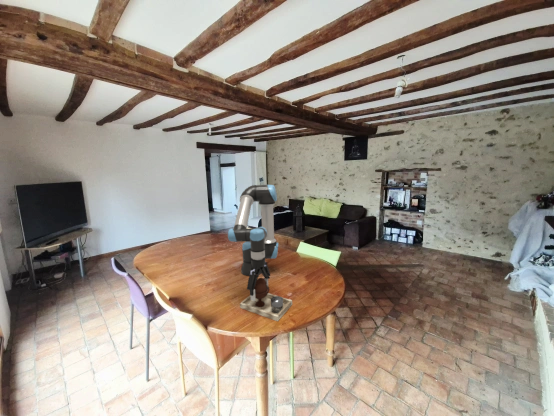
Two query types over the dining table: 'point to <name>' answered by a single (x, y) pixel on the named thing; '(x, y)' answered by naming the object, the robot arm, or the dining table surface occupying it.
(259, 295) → the ice cream bowl
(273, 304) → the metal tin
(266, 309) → the cream rectangular tray
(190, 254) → the dining table surface
